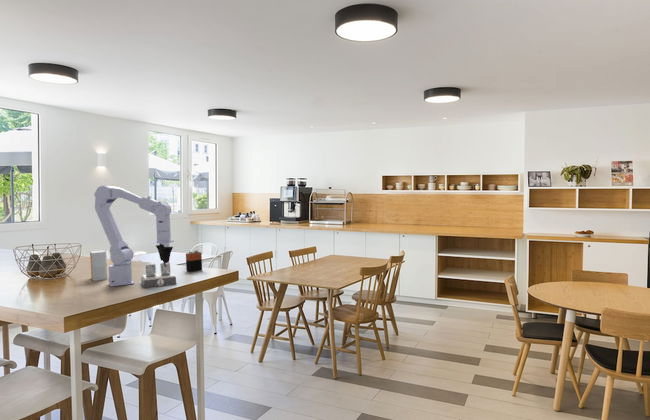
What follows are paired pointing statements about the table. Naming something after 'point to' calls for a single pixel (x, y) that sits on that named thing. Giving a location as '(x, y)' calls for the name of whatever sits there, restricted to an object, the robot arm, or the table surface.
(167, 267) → the steel spacer
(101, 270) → the small box
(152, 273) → the block
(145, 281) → the kitchen scale
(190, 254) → the battery
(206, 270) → the table surface
